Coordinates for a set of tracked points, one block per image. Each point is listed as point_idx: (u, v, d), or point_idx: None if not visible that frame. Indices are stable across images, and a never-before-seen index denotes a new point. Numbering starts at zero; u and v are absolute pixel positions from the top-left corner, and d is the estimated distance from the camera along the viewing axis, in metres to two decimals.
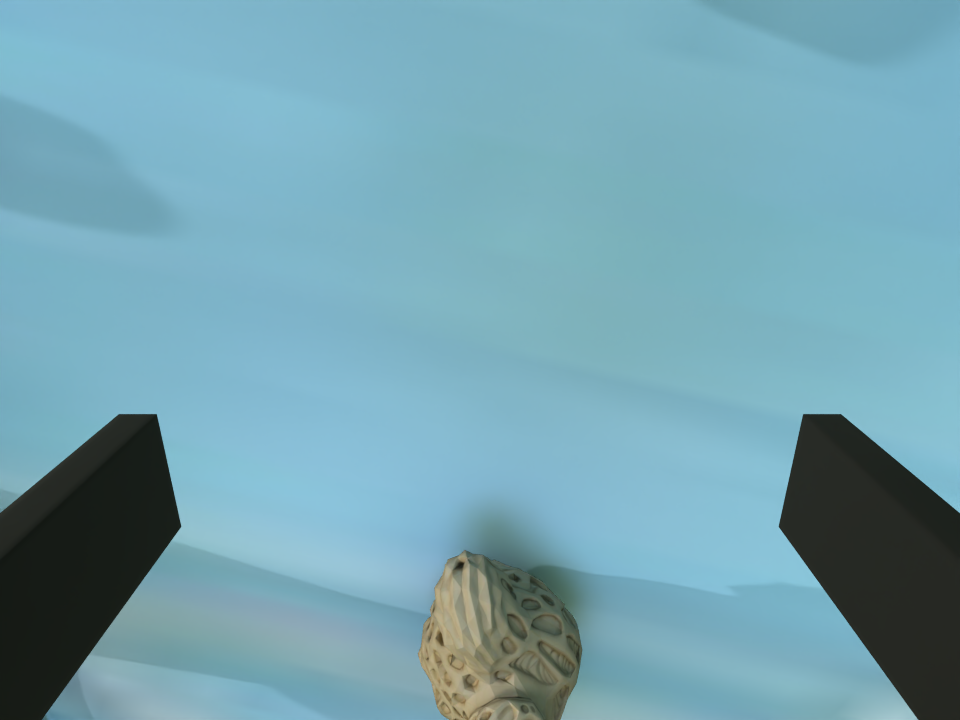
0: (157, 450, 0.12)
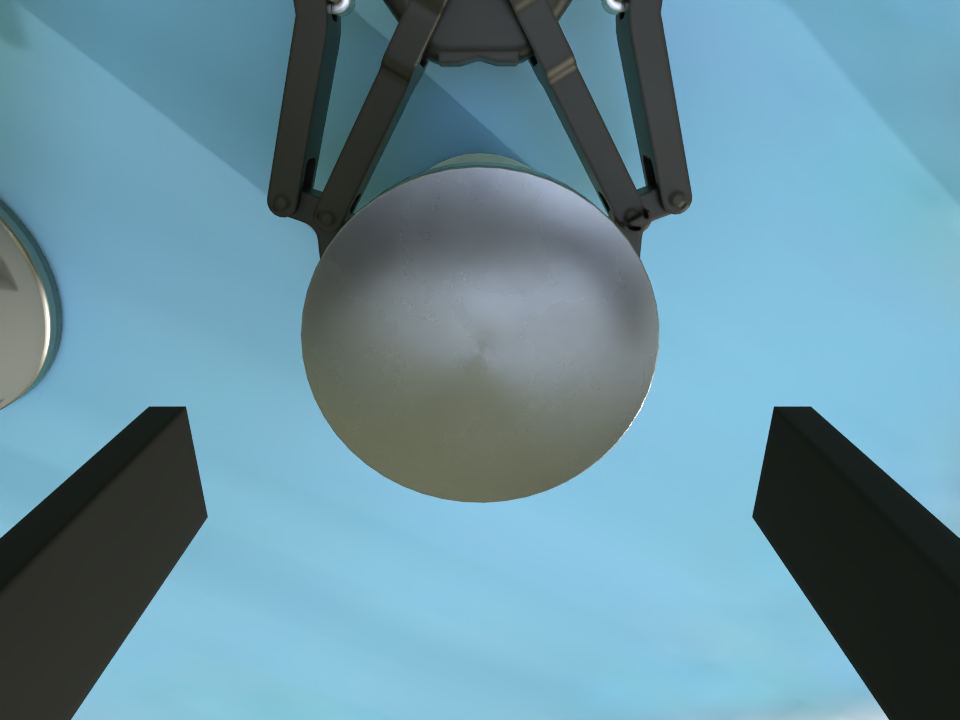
0: (186, 442, 0.13)
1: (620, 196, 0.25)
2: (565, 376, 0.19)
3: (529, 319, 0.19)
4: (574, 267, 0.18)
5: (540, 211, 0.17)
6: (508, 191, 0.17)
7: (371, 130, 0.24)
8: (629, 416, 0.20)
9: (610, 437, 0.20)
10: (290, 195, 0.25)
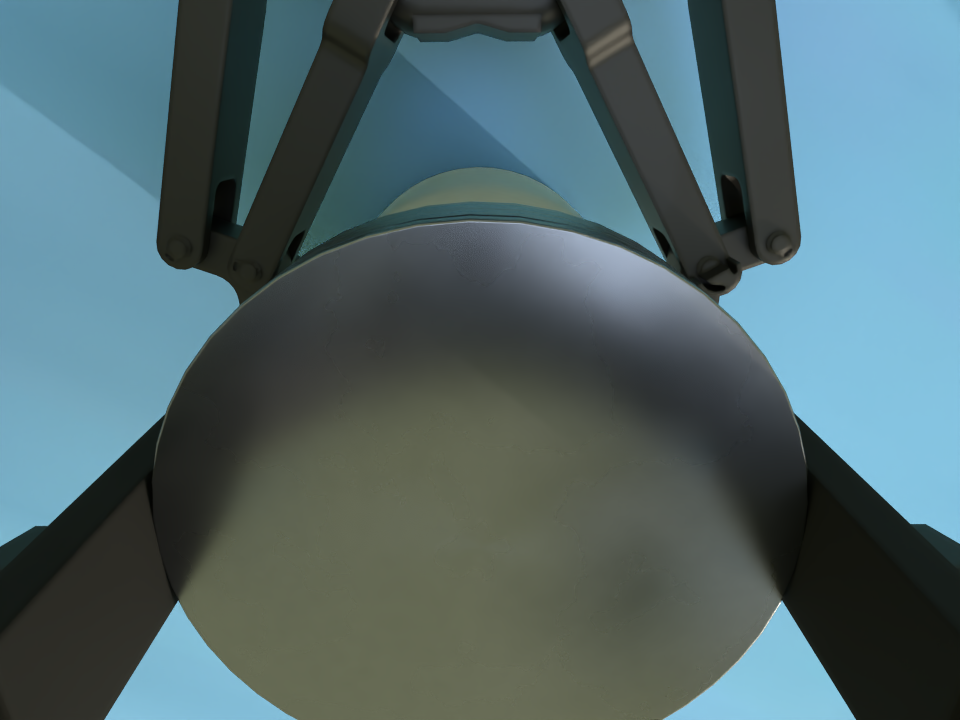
0: None
1: (692, 238, 0.17)
2: (631, 582, 0.11)
3: (570, 492, 0.10)
4: (658, 404, 0.10)
5: (598, 304, 0.09)
6: (536, 267, 0.09)
7: (311, 138, 0.16)
8: (741, 643, 0.11)
9: (706, 674, 0.12)
10: (191, 237, 0.17)
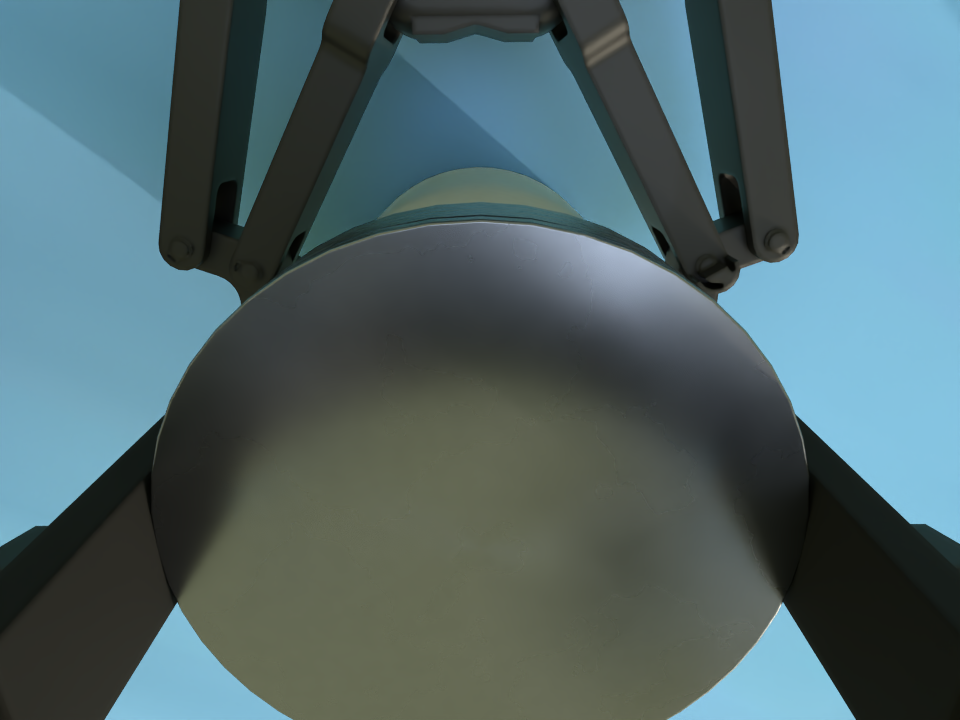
0: None
1: (690, 236, 0.17)
2: (420, 409, 0.10)
3: (375, 519, 0.10)
4: (251, 516, 0.10)
5: (226, 601, 0.11)
6: (240, 646, 0.11)
7: (311, 140, 0.16)
8: (405, 243, 0.09)
9: (472, 243, 0.09)
10: (193, 238, 0.17)
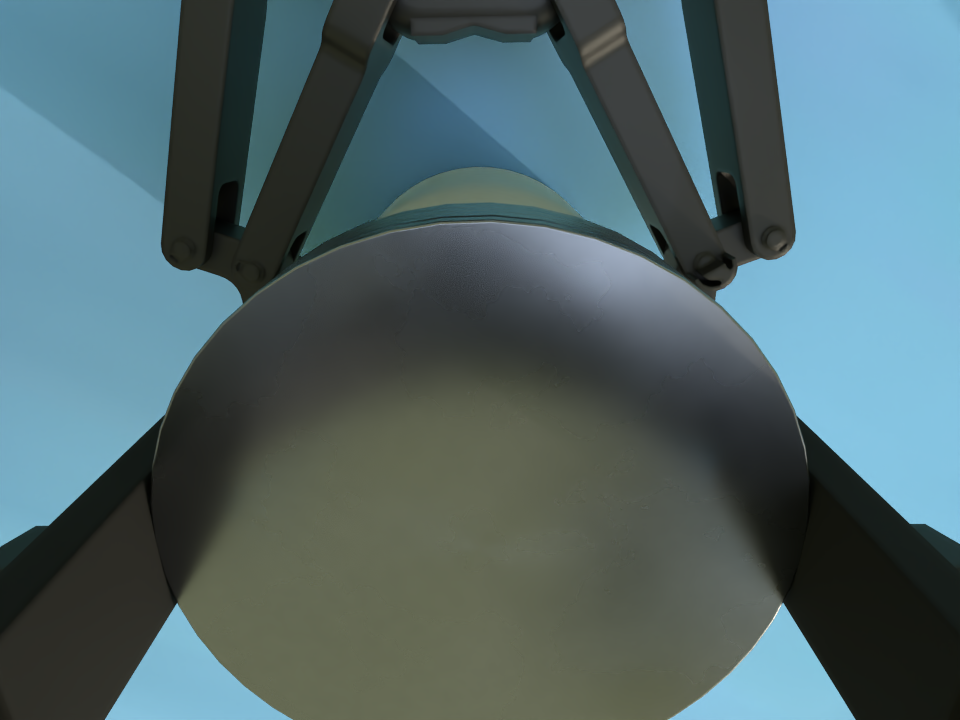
0: None
1: (688, 234, 0.17)
2: (393, 649, 0.11)
3: (511, 627, 0.11)
4: (568, 696, 0.12)
5: (668, 677, 0.12)
6: (717, 649, 0.11)
7: (312, 140, 0.16)
8: (294, 711, 0.12)
9: (261, 683, 0.12)
10: (195, 239, 0.17)
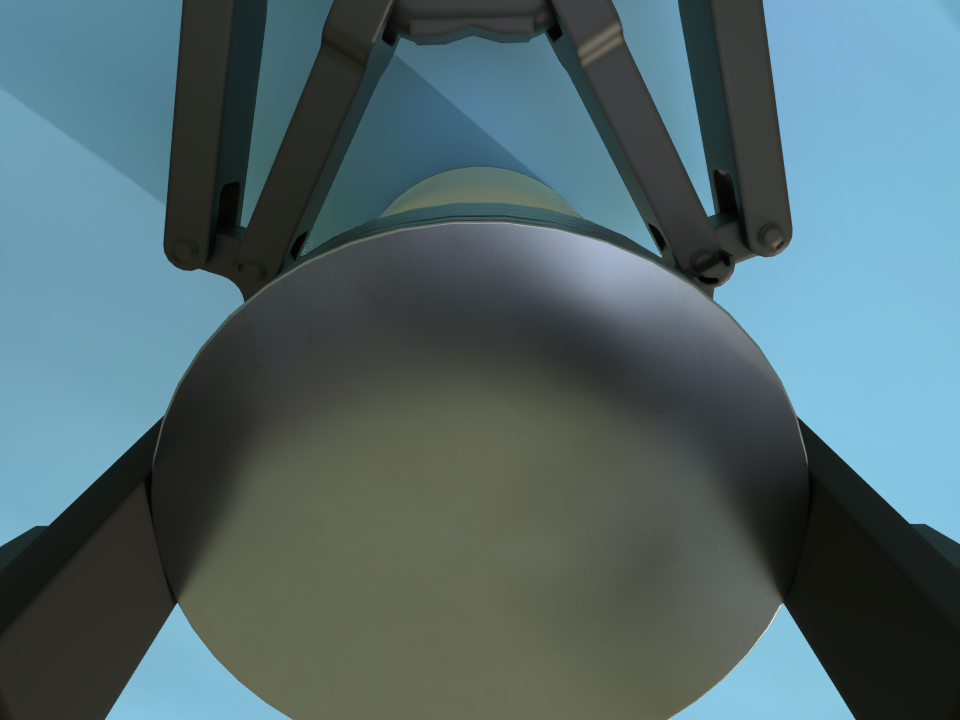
0: None
1: (686, 232, 0.17)
2: (644, 545, 0.10)
3: (548, 473, 0.10)
4: (602, 363, 0.09)
5: (504, 284, 0.09)
6: (430, 267, 0.09)
7: (312, 141, 0.16)
8: (782, 578, 0.11)
9: (756, 617, 0.11)
10: (197, 239, 0.17)
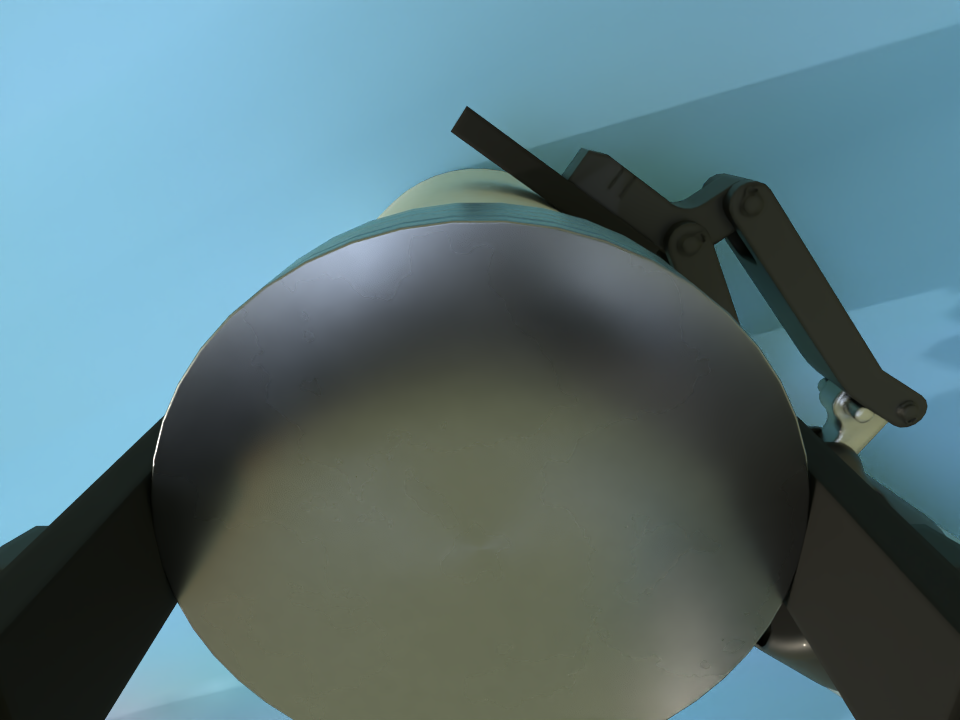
0: None
1: None
2: (643, 545, 0.10)
3: (548, 473, 0.10)
4: (602, 363, 0.09)
5: (504, 284, 0.09)
6: (430, 266, 0.09)
7: None
8: (781, 578, 0.11)
9: (756, 617, 0.11)
10: (749, 221, 0.17)
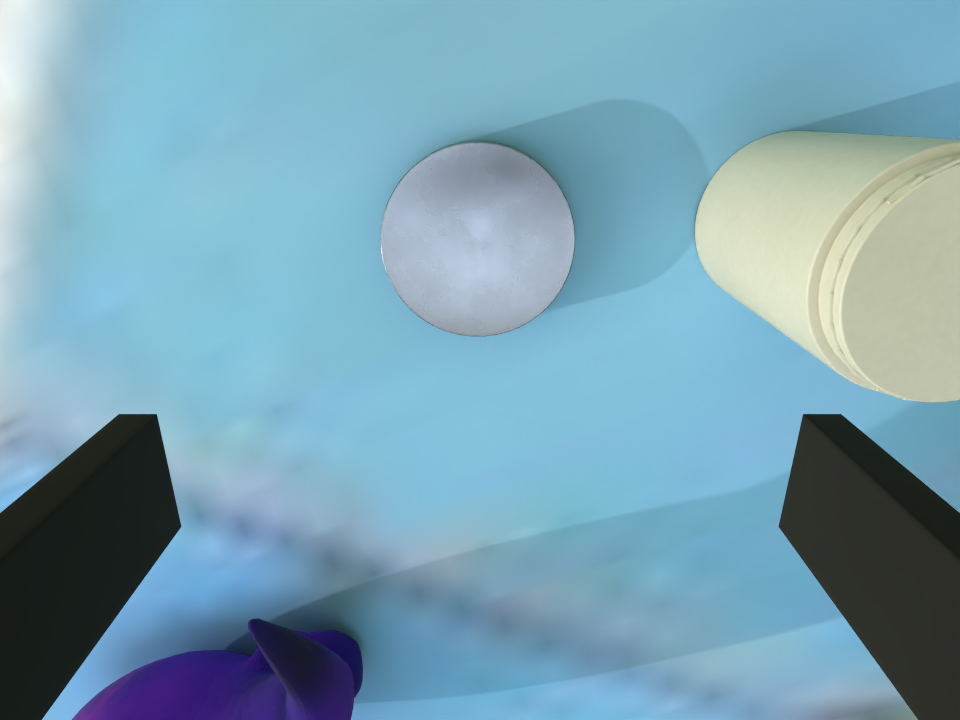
0: (157, 450, 0.12)
1: None
2: (526, 244, 0.35)
3: (497, 218, 0.35)
4: (511, 183, 0.34)
5: (483, 159, 0.33)
6: (464, 155, 0.33)
7: None
8: (569, 256, 0.35)
9: (563, 271, 0.36)
10: None
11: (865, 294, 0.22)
